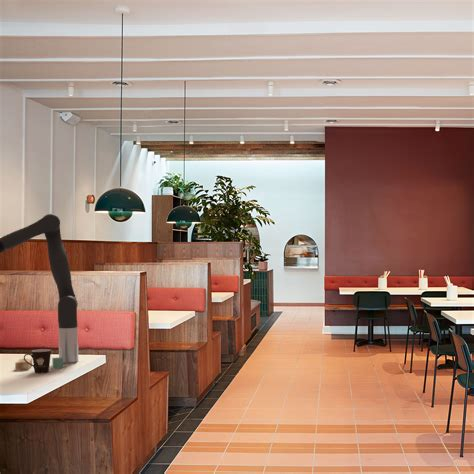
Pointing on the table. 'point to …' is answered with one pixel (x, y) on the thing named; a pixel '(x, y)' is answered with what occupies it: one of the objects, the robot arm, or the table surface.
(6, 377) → the table surface
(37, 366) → the coffee mug
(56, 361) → the green cube
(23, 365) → the oak block
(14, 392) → the table surface
